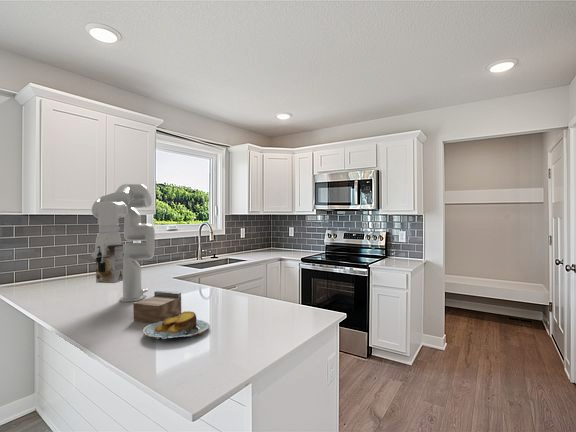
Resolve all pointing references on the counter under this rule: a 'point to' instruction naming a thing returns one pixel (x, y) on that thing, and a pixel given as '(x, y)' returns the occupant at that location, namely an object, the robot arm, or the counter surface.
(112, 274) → the coffee box
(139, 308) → the display stand
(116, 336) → the counter surface
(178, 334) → the food on plate
